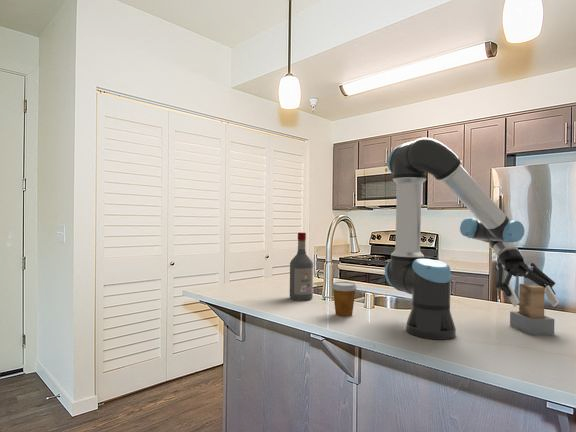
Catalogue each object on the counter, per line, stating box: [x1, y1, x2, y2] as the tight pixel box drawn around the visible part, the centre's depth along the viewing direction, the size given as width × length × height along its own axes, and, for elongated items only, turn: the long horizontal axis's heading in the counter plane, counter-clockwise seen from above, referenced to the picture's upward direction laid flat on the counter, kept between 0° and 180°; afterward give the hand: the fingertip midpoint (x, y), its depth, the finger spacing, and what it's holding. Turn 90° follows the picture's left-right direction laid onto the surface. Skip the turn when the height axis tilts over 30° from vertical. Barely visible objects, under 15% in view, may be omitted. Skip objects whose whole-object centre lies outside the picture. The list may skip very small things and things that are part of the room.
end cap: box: [509, 310, 555, 336], centre depth 128 cm, size 10×8×5 cm
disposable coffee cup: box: [331, 281, 358, 318], centre depth 144 cm, size 10×10×12 cm
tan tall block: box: [518, 283, 546, 318], centre depth 128 cm, size 6×4×14 cm
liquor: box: [289, 232, 314, 302], centre depth 171 cm, size 9×9×30 cm
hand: (536, 304), depth 125 cm, fingers open, 13 cm apart
